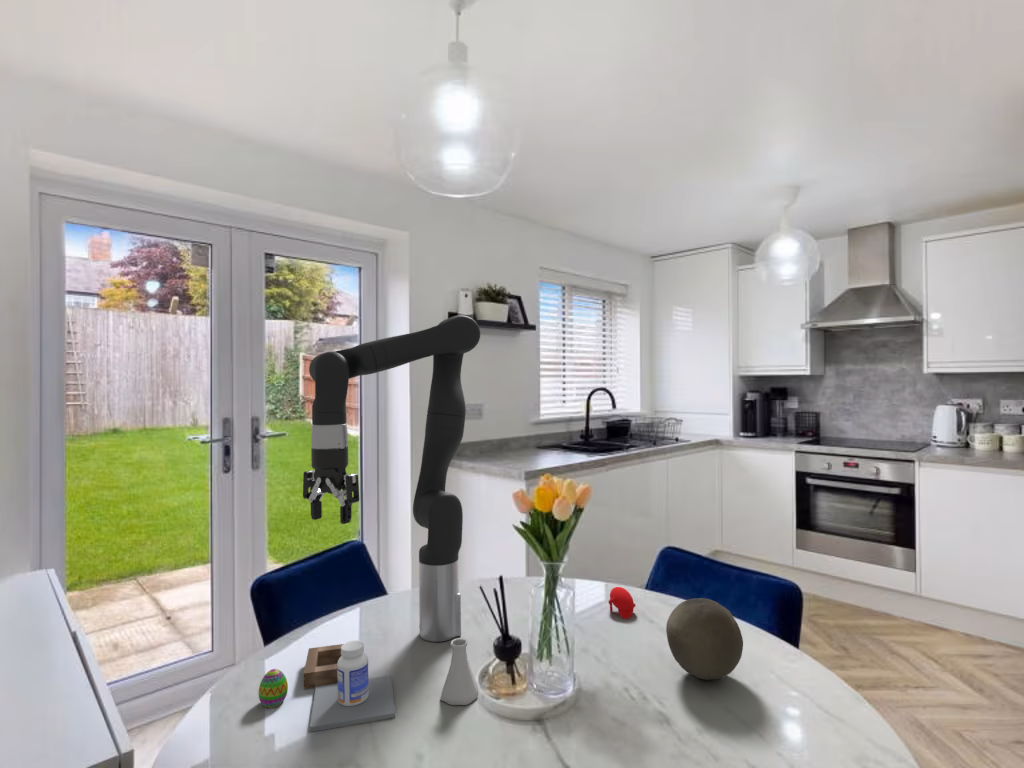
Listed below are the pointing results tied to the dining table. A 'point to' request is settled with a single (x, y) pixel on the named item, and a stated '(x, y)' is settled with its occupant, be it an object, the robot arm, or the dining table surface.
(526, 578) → the dining table surface
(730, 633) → the grey river stone
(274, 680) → the egg
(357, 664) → the pill bottle
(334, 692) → the slate mat
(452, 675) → the flask
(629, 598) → the red rounded figure
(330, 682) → the walnut socket
